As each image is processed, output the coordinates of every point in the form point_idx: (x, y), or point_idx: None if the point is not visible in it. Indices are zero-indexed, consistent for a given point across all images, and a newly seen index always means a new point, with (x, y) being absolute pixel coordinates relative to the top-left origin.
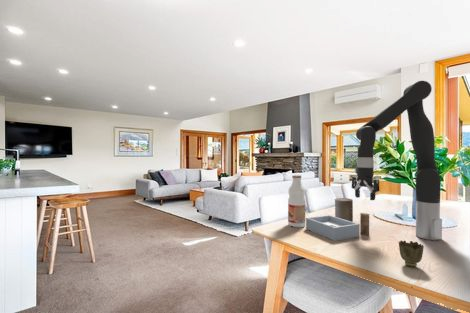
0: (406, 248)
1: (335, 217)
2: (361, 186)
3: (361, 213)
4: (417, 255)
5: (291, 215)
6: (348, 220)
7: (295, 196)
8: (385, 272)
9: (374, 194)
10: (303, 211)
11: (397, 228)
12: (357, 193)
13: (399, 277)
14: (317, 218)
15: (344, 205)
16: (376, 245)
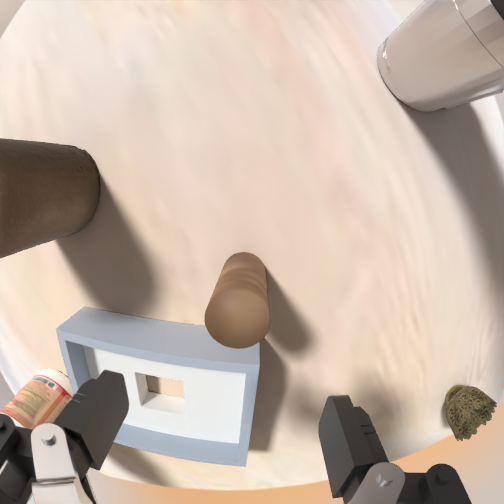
0: (466, 435)
1: (100, 347)
2: (81, 494)
3: (214, 329)
4: (477, 413)
5: None
6: (86, 206)
7: None
8: (419, 446)
9: (374, 457)
10: None
11: (270, 31)
12: (110, 434)
13: (439, 438)
14: None
15: (17, 241)
16: (359, 361)
